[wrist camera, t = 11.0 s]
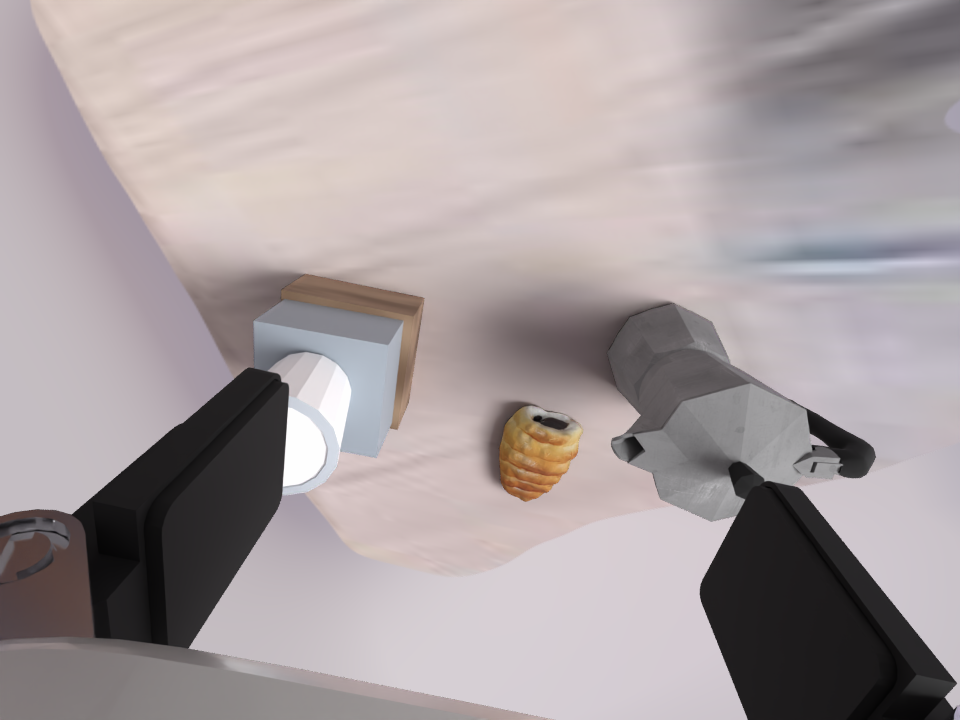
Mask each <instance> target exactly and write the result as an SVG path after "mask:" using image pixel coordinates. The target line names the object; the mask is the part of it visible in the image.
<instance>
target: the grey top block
mask: <svg viewBox="0 0 960 720" xmlns="http://www.w3.org/2000/svg"><path fill="white" fill-rule="evenodd" d="M403 322H404V321H403V320H398V319H393V318H387V317H382V316H376V315H371V314H365V313H360V312H354V311H349V310H343V309H338V308H332V307H327V306H321V305H316V304H310V303H305V302H299V301H294V300H288V299H284V300H283V301H281V302H280V303H278V304H277V305H275V306H274V307H272V308H271V309H270V310H268V311H267V312H265V313H264V314H262V315H261V316H260V317H258V318H257V319H255V320H254V321H253V327H254V368H255V369H260V370H264V371H268V370H269V369H270V368H271V367H272V366H274V365H275V364H276V363H277V362H278V361H280V360H282V359H283V358H285V357H287V356H288V355H290V354H296V353H302V352H309V353H314V354H319V355H323V356H325V357H326V358H328V359H330V360H332V361H333V362H335V363H337V364H338V365H339V367H340V368H341V369H342V370H343V372H344V373H345V374H346V375H347V377H348V380H349V384H350V387H351V397H350V403H349V408H348V413H347V418H346V423H345V428H344V433H343V438H342V443H341V448H340V451H341V452H346V453H352V454H358V455H363V456H369V457H374V458H377V456H378V454H379V451H380V449H381V447H382V445H383V442H384V440H385V438H386V435H387V433H388V431H389V429H390V426H391V424H392V418H393V409H394V400H395V392H396V383H397V374H398V366H399V357H400V348H401V340H402V331H403Z"/></svg>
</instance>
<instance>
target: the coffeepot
mask: <svg viewBox="0 0 960 720" xmlns="http://www.w3.org/2000/svg"><path fill="white" fill-rule="evenodd" d="M607 355H608V358H609V362H610V365H611V369H612V372H613V375H614V379H615V382H616V386H617V389H618V390H619V391H620V392H621V394H622V395H623V396H624V397H625V398H626V399H627V400H628V401H629V403H630V404H631V405H632V406H633V407H634V408H635V409H636V410H637V412H638V413H639V414H640V415H641V416H640V417H639V418H638V420H637V421H636V422H635V423H634V424H633V425H632V427H631V428H630V429H629V430H628V431H627V432H626V433H624V434H623V435H621V436H618V437H615V438H613V439H612V441H611V447H612V449H613V451H614V453H615V454H616V456H617V457H618V458H619V459H621V460H624V461H626V462H627V463H629V464H631V465H633V466H636V467H638V468H641V469H643V470H646V471H648V472H651V473H652V474H653V478H654V481H655V485H656V488H657V491H658V494H659V497H660V499H661V500H663V501H665V502H668V503H670V504H672V505H675V506H677V507H679V508H681V509H684V510H686V511H688V512H691V513H693V514H695V515H697V516H700V517H702V518H704V519H707V520H709V521H716V520H721V519H725V518H730V517H734V516H737V514H738V512H739V511H740V509H741V507H742V505H743V503H744V501H745V499H746V497H747V495H748V494H749V492H750V490H751V489H752V488H753V487H754V486H760V484H762V483H763V482H765V481H772V482H776V483H781V484H786V485H790V486H793V485H794V484H795V483H796V482H797V481H798V480H799V479H800V478H801V477H802V475H804V476H805V477H808V478H821V479H833V476H834V474H837V475H841V476H843V477H847V478H861V477H863V476H865V475H866V474H867V473H868V471H869V469H870V468H871V466H872V464H873V462H874V460H875V458H876V456H875V452H874V448H873V447H872V446H871V445H870V444H868V443H867V442H865V441H864V440H862V439H860V438H858V437H857V436H855V435H853V434H851V433H849V432H847V431H845V430H843V429H841V428H840V427H838V426H836V425H834V424H833V423H831V422H829V421H828V420H826V419H824V418H823V417H821V416H820V415H818V414H816V413H814V412H812V411H810V410H809V409H806V408H804V407H803V406H801V405H799V404H797V403H796V402H794V401H793V400H790V399H787V398H786V397H784V396H783V395H781V394H779V393H778V392H776V391H774V390H773V389H771V388H770V387H768V386H766V385H765V384H763V383H762V382H760V381H758V380H757V379H755V378H754V377H752V376H750V375H749V374H747V373H745V372H744V371H742V370H740V369H738V368H736V367H734V366H733V365H731V364H730V361H729V358H728V355H727V353H726V351H725V349H724V347H723V345H722V343H721V340H720V338H719V336H718V334H717V332H716V330H715V328H714V325H713V323H712V322H711V321H709V320H707V319H705V318H703V317H701V316H699V315H697V314H695V313H694V312H692V311H689V310H687V309H685V308H682V307H680V306H678V305H676V304H674V303H673V304H669V305H666V306H662V307H658V308H653V309H650V310H647V311H645V312H642V313H640V314H637V315H634V316H631V317H629V319H628V320H627V322H626V323H625V325H624V326H623V328H622V329H621V330H620V331H619V333H618V334H617V336H616V338H615V340H614V342H613V344H612V346H611V348H610V349H609V351H608V352H607ZM810 434H812V435H814V436H816V437H817V438H819V439H820V440H822V441H823V442H824V443H825V444H826V445H827V446H829V447H825V446H818V445H811V439H810Z"/></svg>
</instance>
